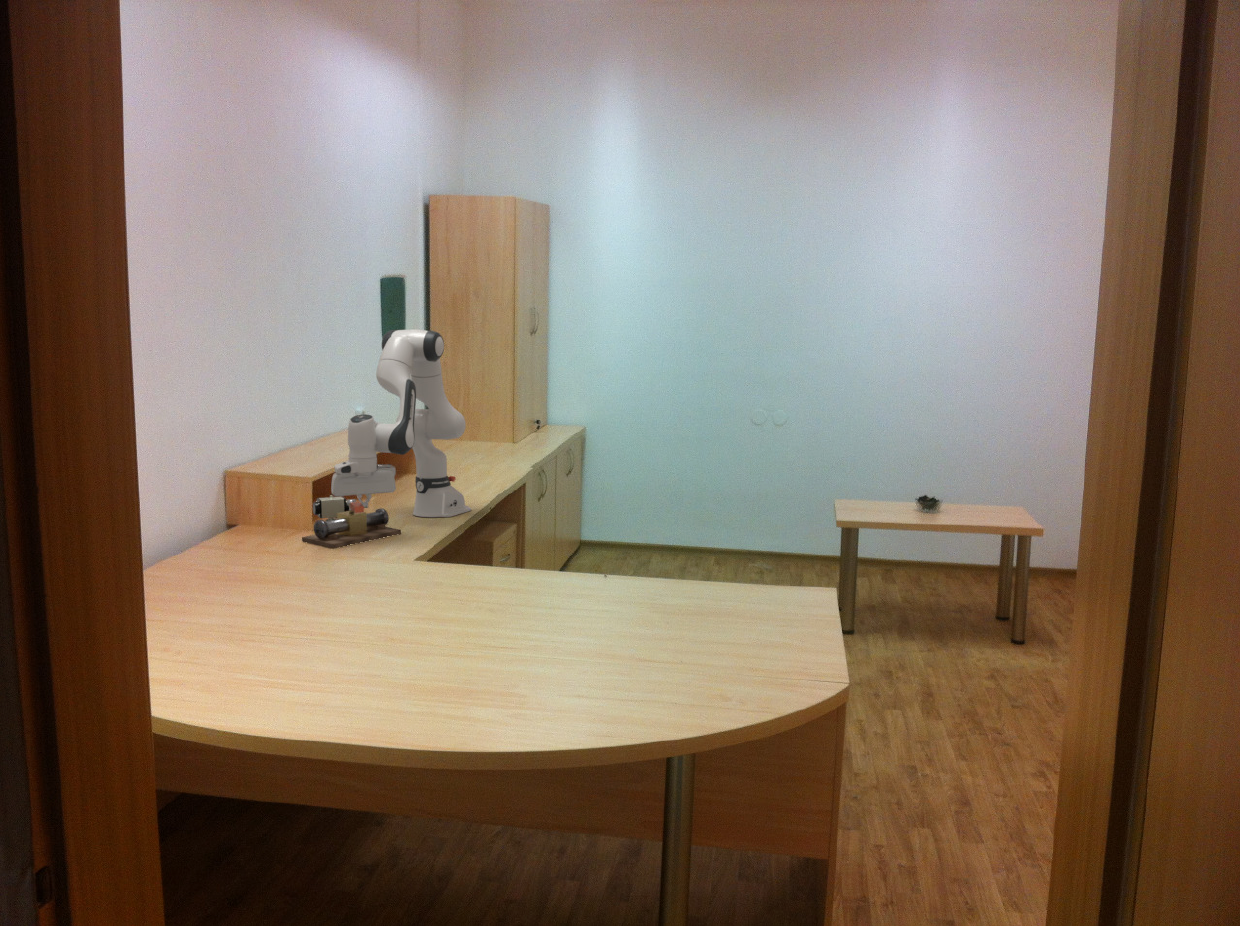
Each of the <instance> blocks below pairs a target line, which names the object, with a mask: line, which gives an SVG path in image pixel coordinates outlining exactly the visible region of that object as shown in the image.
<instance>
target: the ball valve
mask: <svg viewBox="0 0 1240 926" xmlns="http://www.w3.org/2000/svg"><path fill="white" fill-rule="evenodd" d="M335 519H336V518H335ZM388 523H389V514H388V512H387V510H386V509H385V508H382V507H381V508H376V510H375V511H373V512H368V513H367V511H364V512H361V513H355V512H353V511H352V510H351V509H350V506H349V511H346V512H340V513H337V519H336V520H331V521H325V520H324V519H318V520H316V521H314V524H313V533H314V535H316V536H317V537H318V538H319V539H322V538H326V537H327V535H328V534H334V533H338V534H341V535H345V536H355V535H360V534H365V533H367V527H368V526H373V525H377V524H385V526H386V525H388Z"/></svg>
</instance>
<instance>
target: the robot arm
mask: <svg viewBox="0 0 1240 926" xmlns="http://www.w3.org/2000/svg"><path fill="white" fill-rule="evenodd" d="M444 350H445V341H444V338H443V336H442V335H441V333H440V332H438V331H435V330H425V329H415V328H414V329H413V328H412V329H391V330H388V331H387V332H385V334H384V335H383V337H382V338H381V351H382V352H381V355H380V357H379V361H378V364H377V366H376V374H375V375H376V376H375V377H376V379H377V383H378V384H379V385H380V386H381V388H382V389H384V390H386V391H387V392H388V393H390V394H392V395H395V396H397V397H399V409H398V410H399V412H398V415H397V417H396V422H394V423H384V422H379V421H376V420H375V419H374V416H372V415H370V414H357V415H355V416H352V417H351V418H349V421H348V428H347V444H348V447H349V448H348V449H349V453H348V460H345V461H343V462H339V463H337V464H335V465H334V467H333V468H334V473H333V475H332V476H331V477H332V478H331V487H330V488H331V489H330V491H331V495H333V497H341V496H343V497H345V496H356V498H357V500H358V502H359V503H361V504H362V505H363V506H364V509H366V508H369V503H370V501H371V499H372V495H373V494H374V495H376V494H387V493H389V494H390V493H394V492H395V491H396V490H397V489H396V488H397V487H396V486H397V485H396V479H395V476H396V467H395V466H394V465H392V464H390V463H387V464H378V457H377V456H378V455H377V453H388V454H394V455H395V454H396V455H399V456H400V455H401V456H403V455H406V454H407V453H408V452H410V451H411V450H412V451H413V454H414V457H415V465H416V466H415V468H416V470H415V471H416V476H415V480H414V481H415V488H416V491H415V493H416V494H415V500H414V501H415V502H414V507H413V511H412V515H413V516H416V517H423V518H450V517H453V516H457V515H461V514H464V513H467V512H471V511H472V508H471V507H470V506H468V505H466V503H465V501H466V500H465V496H464V494H463V493H462V492H460V491H459V490H458V489H456V487H454V486H453V485H451V482H452V483H453V482H454V483H455V481H456V479H457V478H456V477H455V475H450V476H448V473H447V472H448V471H447V470H448V468H447V467H448V466H447V465H448V464H447V463H448V461H447V455H446V454H445V453H444V451H443V450H441V449H439V448H437V447H436V446H435V445H434V444H433V442H432V440H442V441H443V440H454V439H458V438H460V437H462V436H463V435H464V433H465V430H466V427H467V426H466V425H467V424H466V419H465V416H464V415H463V414H462V412H460V411H459V410H457V409H456V408H455V407H454V406H453V405H452V404H451V403H450V401H449V400H448V397H447V395H446V392H445V387H444V381H443V380H444V379H443V374H442V371H443V370H442V363H441V359H440V358H441V357H442V356H443V354H444ZM416 401H420V402H421V403H423V404H424V405H425V406H426V407H427V408H416V404H417V403H416ZM363 495H365V496H366V499H365V501H363V499H362V498H363Z"/></svg>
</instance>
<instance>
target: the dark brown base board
mask: <svg viewBox="0 0 1240 926" xmlns="http://www.w3.org/2000/svg"><path fill="white" fill-rule="evenodd" d="M397 534H399V535H402V530H401V529H399V528H396V527H395V528H394V527H390V526H386V525H385V524H377V525H373V526H368V527H367V533H365V534H360V535H355V536H345V535H341V534H338V533H334V534H328V535H327V537H326V538H322V539H319V538H318V537H317V536H316V535H315V534H311V535H306V536H302V537H301V542H302V541H303V542H302V543H306V542H307V544H309V545H310V544H311V545H315V546H318V547H324V548H328V549H332V550H336V549H339V547H340V548H344V547H343V546H345V547H347V545H349V546H351V545H350V544H354V545H356V544H355V543H358V544H361V543H360V542H363V543H366V542H365V541H367V542H370V541H369V540H372V541H375V540H374V539H376V540H380V539H379V538H381V539H384V538H383V537H385V538H388V537H387V536H390V537H393V536H392V535H395V536H398V535H397Z"/></svg>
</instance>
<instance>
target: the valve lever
mask: <svg viewBox="0 0 1240 926" xmlns="http://www.w3.org/2000/svg"><path fill="white" fill-rule="evenodd" d="M346 500H347V505H348V506H350V509H351V510H352V511H353V512H355V513H361V512H365V508H364V506H363V505H362V504H361V502H360V501H357V499H354V498H352V499H349V498H348V499H346Z"/></svg>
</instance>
